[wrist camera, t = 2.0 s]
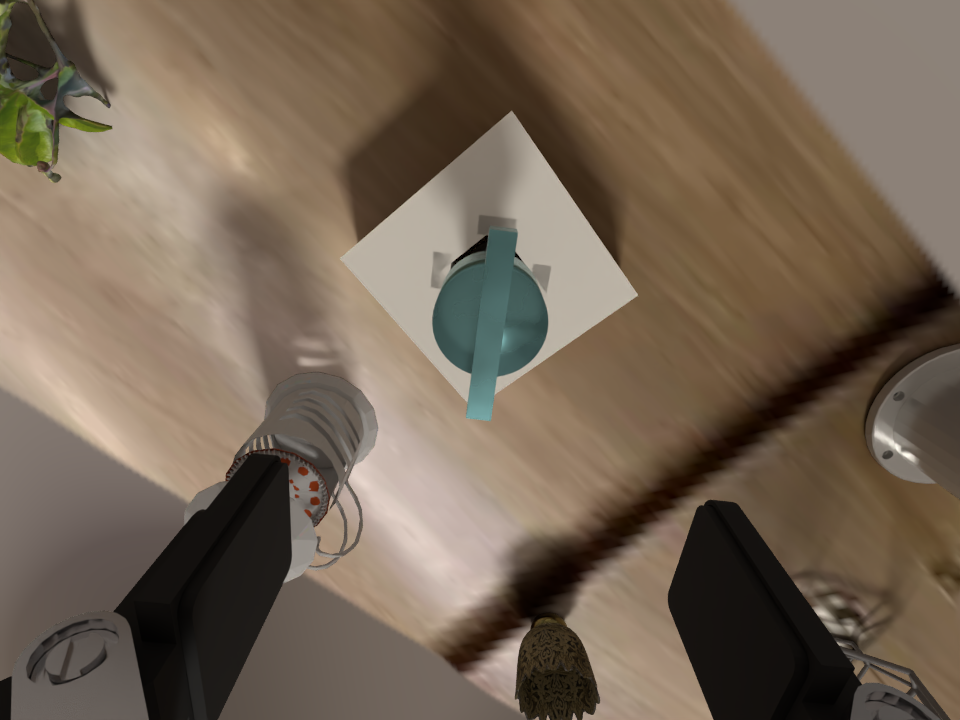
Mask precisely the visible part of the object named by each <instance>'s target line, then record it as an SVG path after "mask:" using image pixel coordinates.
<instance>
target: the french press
mask: <svg viewBox="0 0 960 720" xmlns="http://www.w3.org/2000/svg"><path fill="white" fill-rule="evenodd" d="M377 431H378V425H377V420H376V416H375V412H374V408H373V407H372V405H371V404H370V403H369V401H368V400H367V399H366V397H365V396H364V394H363V393H362V392H361V390H359V389H358V388H356V387H355V386H353V385H351V384H350V383H348V382H347V381H345V380H344V379H342V378H340V377H336V376H332V375H328V374H324V373H320V372H314V373H305V374H296V375H294V376H292V377H291V378H289V379H287V380H285V381H283V382H282V383H280V384H278V385H277V386H276V388H275V389H274V391H273V392H272V394H271V395H270V397H269V398H268V400H267V402H266V411H265V419H264V421H263V422H262V423H261V425H260V426H259V427H258V428H257V429H256V431H255V432H254V433H253V434H252V435H251V436H250V438H249V439H248V440H247V441H246V442H245V443H244V445H243V446H242V447H241V448H240V450H239V451H238V452H237V454H236V455H235V458H234V461H233V464H232V466H231V467H230V469H229V470H228V472H227V473H226V481H223V482H219V483H217V484H215V485H213V486H211V487H209V488H207V489H205V490H203V491H200V492H199V493H198V494H196V496H195V497H194V499H193V500H192V501H191V503H190V504H189V505H188V507H187V508H186V509H185V517H184V525H185V524H186V523H187V522H188V520H189V519H190V518H191V517H192V516H193V515H194V514H195V513H196V512H197V511H199V510H201V509H205V510H206V509H207V508H208V507H209V505H210V504H211V503H212V502H213V500H214V499H215V498H216V497H217V495H218V494H219V493H220V492H221V490H222V489H223V488H224V486H225V485H226V484H227V483H228V481H229V480H230V479H231V478H232V476H233V475H234V474H235V473H236V471H237V470H238V469H239V468H240V466H241V465H242V464H243V463H244V461H245V460H246V459H247V458H248V456H249V455H250V454H252V453H259V454H269V455H278V456H279V457H280V459H281V462H282V463H287V464H288V468H289V491H290V516H291V540H292V561H291V566H290V569H289V572H288V574H287V576H286V578H285V580H284V582H283V583H285V582H287V581H289V580H292V579H294V578H296V577H298V576H300V575H301V574H302V573H303V572H304V571H305V570H306V568H307V569H312V570H321V569H326V568H328V567H330V566H331V565H333V564H334V563H336V562H337V561H338V559H339V558H340V557H341V556H344V555H346V554H347V553H348V552H350V551H351V550H352V549H354V547H355V546H356V545H357V544H358V542H359V538H360V535H361V531H362V528H363V519H362V509H361V506H360V503H359V501H358V498H357V496H356V494H355V493H354V491H353V490H352V488H351V486H350V485H349V483H348V478H349V476H350V473H351V471H352V468H353V466H354V465H355V464H357V463H359V462H361V461H363V460H364V458H365V457H366V456H367V455H368V453H369V452H370V451H371V450H372V448H373V447H374V445H375V441H376V436H377ZM267 435H269V436H270V439H271V441H272V446H273V448H272V449H270V448H269V443H268V438H267ZM262 436H263V441H264V446H265V449H262V448H261V443H260V437H262ZM255 438H257V440H256V447H257V450H254V451H253V440H254V439H255ZM248 446H249V453H247V454H245V450H246V448H247V447H248ZM347 468H348V469H347ZM345 469H347V471H346V472H345ZM338 481H339V486H340V487H339V489H338V491H337V494H336V496H335V495H334V490H335V488H336V485H337V483H338ZM344 484H345V485H346V486H347V488H348V490H349V491H350V493H351V495H352V497H353V498H354V500H355V503H356V505H357V507H358V510H359V516H360V523H359V530H358V533H357V536H356V539H355V542H354V543H353V544H352V545H351V547H350V548H348V549H347V550H345V551H344V552H343V550H344V548H345V545H346V543H347V519H346V516H345V513H344V510H343V508H342V506H341V505H340V503H339V501H338V500H337V499H338V497H339V495H340V492H341V490H342V488H343V486H344ZM331 495H332V497H333V499H334V500H333V502H332V505H331V507H332V506H333V505H334V504H335V503H336V505H337V506H338V508H339V510H340V513H341V515H342V517H343V520H344V541H343V544H342V547H341V549H340V551H339V553H335V554H328V553H325V552H322V551H321V550H320V549H319V543H320V540H321V537H319V536H318V537H317V536H316V533H315V530H314V527H315V526H317V525H318V524H319V523H320V521H321V520H322V519H323V518H324V516H325V515H326V514H327V511H328V506H329V500H330V497H331ZM331 507H330V509H331ZM330 509H329V510H330ZM315 551H316V552H317V554H318V555H320V556H324V557H329V558H334V559H333V560H332V561H330V562H329V563H327V564H325V565H320V566H310V564H311V563H312V561H313V560H314V555H315Z"/></svg>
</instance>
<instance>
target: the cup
mask: <svg viewBox="0 0 960 720" xmlns="http://www.w3.org/2000/svg"><path fill="white" fill-rule="evenodd" d="M516 699H519V704H520V711H521V713H522V712H524V713H525V715H526V718H527V720H533V719H535V718H536V717H539V720H546V718H547V715H549V718H550V720H572V717H573V713H575V715H576V718H577V720H582V718H583V712H585V711H586V713H588V714H590V715H594V713H595V710H596V703H597V704H599V703H600V697H599V694H598V691H597V684H596V681H595V678H594V674H593V671H592V668H591V665H590V662H589V659H588V656H587V653H586V651H585V648H584V646H583V644H582V642H581V640H580V639H579V637H578V636H577V635H576V633H574V632H573V631H572V630H571V629H570V628H568V627H567V625H566V623H565V621H564V620H563V619H562V618H561V617H560V616H559V615H557V614H554V613H543V614H540V615H538V616H537V617H536V618H535V619H534V620H533V622H532V625H531V630H530V631H529V632H528V633H527V634H526V635H525V637H524V638H523V641H522V643H521V646H520V650H519V655H518V664H517V679H516V692H515V700H516Z"/></svg>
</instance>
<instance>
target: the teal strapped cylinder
mask: <svg viewBox="0 0 960 720" xmlns="http://www.w3.org/2000/svg"><path fill="white" fill-rule="evenodd" d="M517 237H518V231H517V229H514V228H506V227H498V226H490V227H489V235H488V242H485V243H482V244H480V245H479V246H478V247H476V248H475V250H474V251H473V253H472V254H471V255H469V256H467V257H465V258H463V259H462V260H460V261H459V262H458V263H457V264H455V265H454V266H453V268H452V269H451V270H450V271H449V273H448V274H447V276H446V278H445V280H444V282H443V284H442V287H441V290H440V292H439V295H438V298H437V300H436V303H435V306H434V310H433V316H432V327H433V333H434V337H435V340H436V343H437V345H438V347H439V349H440V350H441V352H442V353H443V354H444V356H445V357H446V358H447V359H448V360H449V361H450V362H451V363H452V364H453V365H455V366H456V367H458V368H459V369H461V370H463V371H465V372H467V373H470V374H471V379H470V388H469V396H468V404H467V413H466V418H470V419H478V420H487V421H491V415H492V408H493V401H494V394H495V388H496V381H497V377H499V376H504V375H508V374H511V373H513V372H515V371H518V370H520V369H521V368H523V367H524V366H526V365H527V364H528V363H530V362H531V361H532V360H533V359H534V358H535V356H536V355H537V354H538V352H539V351H540V349H541V348H542V346H543V344H544V341H545V339H546V336H547V332H548V312H547V307H546V304H545V301H544V299H543V296H542V293H541V291H540V288H539V285H538V283H537V280H536V278H535V276H534V275H533V273H532V271H531V270H530V269H529V268H528V267H527V266H526V265H525V264H524V263H523V262H522V261H521V260H519V259H518V258H516V257H515V251H516V244H517Z"/></svg>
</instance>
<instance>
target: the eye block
mask: <svg viewBox="0 0 960 720" xmlns="http://www.w3.org/2000/svg"><path fill="white" fill-rule="evenodd" d="M490 226H498V227H506V228H514V229H517V231H518V237H517V244H516V251H515V252H516V253H517V254H518V256H519V257H520V258H521V260H522V261H523V262H524V264H525V265H526V266H527V267H528V268H529V269H530V270H531V271H532V273H533V275H534V276H535V278H536V280H537V283H538V285H539V288H540V291H541V293H542V296H543V299H544V301H545V304H546V307H547V312H548V332H547V336H546V339H545V341H544V344H543V346H542V348H541V349H540V351H539V352H538V354H537V355H536V356H535V358H534V359H533V360H532V361H531V362H530V363H528V364H527V365H526V366H524V367H523V368H521V369H520V370H518V371H515V372H513V373H511V374H508V375H504V376H499V377H497V381H496V388H495V394H496V393H498V392H499V391H500V390H502V389H503V388H505V387H506V386H508V385H509V384H511V383H512V382H513V381H515V380H516V379H518V378H519V377H521V376H522V375H524V374H525V373H527V372H528V371H529V370H531V369H532V368H534V367H535V366H537V365H538V364H540V363H541V362H542V361H544V360H545V359H547V358H548V357H550V356H551V355H553V354H554V353H555V352H557V351H558V350H560V349H561V348H563V347H564V346H566V345H567V344H568V343H570V342H571V341H573V340H574V339H576V338H577V337H579V336H580V335H581V334H583V333H584V332H586V331H587V330H589V329H590V328H592V327H593V326H594V325H596V324H597V323H599V322H600V321H602V320H603V319H605V318H606V317H607V316H609V315H610V314H612V313H613V312H615V311H616V310H618V309H619V308H620V307H622V306H623V305H625V304H626V303H628V302H629V301H631V300H632V299H633V298H635V297H636V296H638V294H637V293H636V291H635V290H634V288H633V287H632V285H631V284H630V283H629V281H628V280H627V278H626V277H625V275H624V274H623V272H622V271H621V269H620V268H619V266H618V265H617V264H616V262H615V261H614V259H613V258H612V256H611V255H610V253H609V252H608V250H607V249H606V247H605V246H604V245H603V243H602V242H601V240H600V239H599V237H598V236H597V234H596V233H595V231H594V230H593V228H592V227H591V226H590V224H589V223H588V221H587V220H586V218H585V217H584V215H583V214H582V212H581V211H580V209H579V208H578V207H577V205H576V204H575V202H574V201H573V199H572V198H571V196H570V195H569V193H568V192H567V190H566V189H565V188H564V186H563V185H562V183H561V182H560V180H559V179H558V177H557V176H556V174H555V173H554V171H553V170H552V169H551V167H550V166H549V164H548V163H547V161H546V160H545V158H544V157H543V155H542V154H541V152H540V151H539V150H538V148H537V147H536V145H535V144H534V142H533V141H532V139H531V138H530V136H529V135H528V133H527V132H526V131H525V129H524V128H523V126H522V125H521V123H520V122H519V120H518V119H517V117H516V116H515V114H514V113H513V112H512V111H511V112H510V113H508V114H507V115H506V116H505V117H504V118H503V119H501V120H500V121H499V122H498V123H497V124H496V125H494V126H493V127H492V128H491V129H490V130H489V131H487V132H486V133H485V134H484V135H483V136H482V137H481V138H479V139H478V140H477V141H476V142H475V143H474V144H472V145H471V146H470V147H469V148H468V149H467V150H465V151H464V152H463V153H462V154H461V155H460V156H458V157H457V158H456V159H455V160H454V161H453V162H451V163H450V164H449V165H448V166H447V167H446V168H444V169H443V170H442V171H441V172H440V173H439V174H437V175H436V176H435V177H434V178H433V179H432V180H430V181H429V182H428V183H427V184H426V185H425V186H424V187H422V188H421V189H420V190H419V191H418V192H417V193H415V194H414V195H413V196H412V197H411V198H410V199H408V200H407V201H406V202H405V203H404V204H403V205H401V206H400V207H399V208H398V209H397V210H396V211H394V212H393V213H392V214H391V215H390V216H389V217H387V218H386V219H385V220H384V221H383V222H382V223H380V224H379V225H378V226H377V227H376V228H375V229H373V230H372V231H371V232H370V233H369V234H368V235H367V236H365V237H364V238H363V239H362V240H361V241H360V242H358V243H357V244H356V245H355V246H354V247H353V248H351V249H350V250H349V251H348V252H347V253H346V254H344V255H343V256H342V257H341V258H340V259H341V260H342V261H343V263H344V264H345V265H346V266H347V267H348V268H349V269H350V270H351V272H352V273H353V274H354V275H355V276H356V277H357V278H358V280H359V281H360V282H361V283H362V284H363V285H364V286H365V287H366V289H367V290H368V291H369V292H370V293H371V294H372V295H373V297H374V298H375V299H376V300H377V301H378V302H379V303H380V304H381V306H382V307H383V308H384V309H385V310H386V311H387V312H388V314H389V315H390V316H391V317H392V318H393V319H394V320H395V321H396V323H397V324H398V325H399V326H400V327H401V328H402V329H403V331H404V332H405V333H406V334H407V335H408V336H409V337H410V339H411V340H412V341H413V342H414V343H415V344H416V345H417V346H418V348H419V349H420V350H421V351H422V352H423V353H424V354H425V356H426V357H427V358H428V359H429V360H430V361H431V362H432V363H433V365H434V366H435V367H436V368H437V369H438V370H439V371H440V373H441V374H442V375H443V376H444V377H445V378H446V379H447V380H448V382H449V383H450V384H451V385H452V386H453V387H454V388H455V390H456V391H457V392H458V393H459V394H460V395H461V396H462V397H463V399H464V400H465V401H466V402H467V403H468V396H469V388H470V379H471V374H470V373H467V372H465V371H463V370H461V369H459V368H458V367H456V366H455V365H453V364H452V363H451V362H450V361H449V360H448V359H447V358H446V357H445V356H444V354H443V353H442V352H441V350H440V349H439V347H438V345H437V343H436V340H435V337H434V333H433V327H432V316H433V310H434V306H435V303H436V300H437V298H438V295H439V292H440V290H441V287H442V284H443V282H444V280H445V278H446V276H447V274H448V273H449V271H450V270H451V269H452V268H453V266H454V264H455V259H457V258H458V257H459V256H460V255H462V254H463V253H464V252H466V251H467V250H468V249H469V248H471V247H472V246H473V245H474V244H476V243H477V242H478V241H479V240H481V239H482V238H483V237H484V236H486V235H489V227H490ZM495 394H494V395H495Z"/></svg>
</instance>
